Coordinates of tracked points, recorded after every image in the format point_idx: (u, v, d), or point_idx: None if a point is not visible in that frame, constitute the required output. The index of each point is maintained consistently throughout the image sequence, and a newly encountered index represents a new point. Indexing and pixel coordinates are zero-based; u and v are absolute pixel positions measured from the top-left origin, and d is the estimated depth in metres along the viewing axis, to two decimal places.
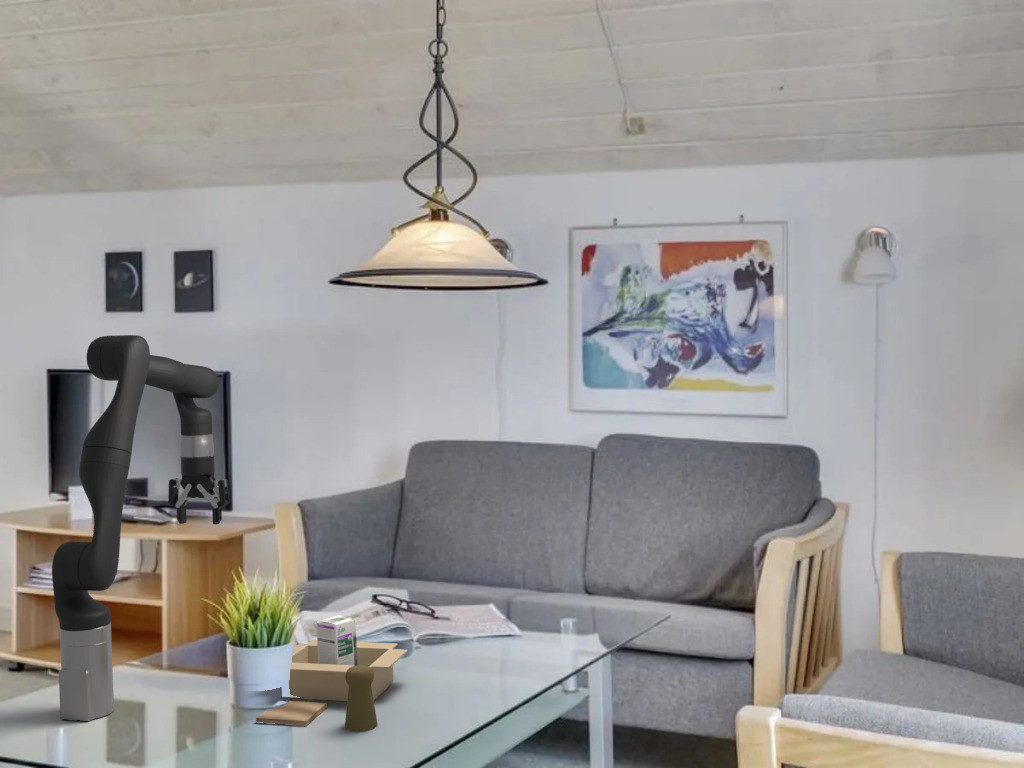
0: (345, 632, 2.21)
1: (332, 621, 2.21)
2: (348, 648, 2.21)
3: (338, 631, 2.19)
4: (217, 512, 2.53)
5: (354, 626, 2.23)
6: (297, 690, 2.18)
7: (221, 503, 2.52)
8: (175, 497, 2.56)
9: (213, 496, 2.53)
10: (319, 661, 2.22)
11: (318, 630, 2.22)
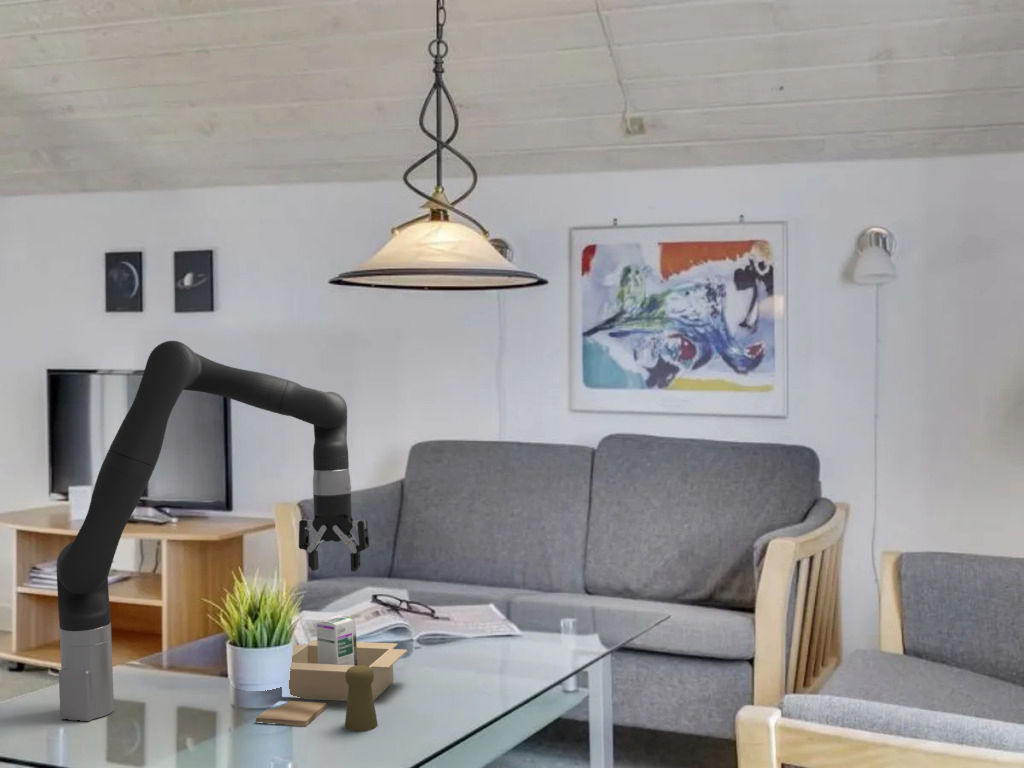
0: (345, 632, 2.21)
1: (332, 621, 2.21)
2: (348, 648, 2.21)
3: (338, 631, 2.19)
4: (356, 557, 2.21)
5: (354, 626, 2.23)
6: (297, 690, 2.18)
7: (361, 547, 2.20)
8: (305, 540, 2.24)
9: (351, 539, 2.21)
10: (319, 661, 2.22)
11: (318, 630, 2.22)
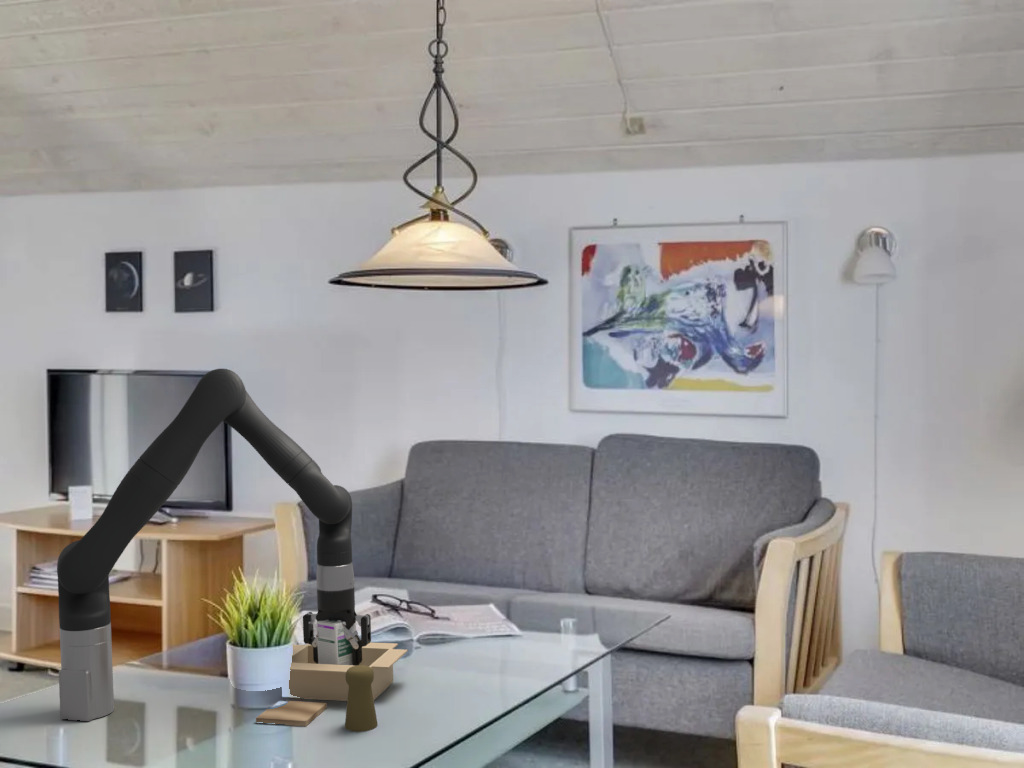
0: None
1: (332, 621, 2.21)
2: (348, 648, 2.21)
3: (338, 631, 2.19)
4: (358, 653, 2.21)
5: (354, 626, 2.23)
6: (297, 690, 2.18)
7: (363, 643, 2.20)
8: (310, 634, 2.25)
9: (353, 634, 2.21)
10: (319, 661, 2.22)
11: (318, 630, 2.22)
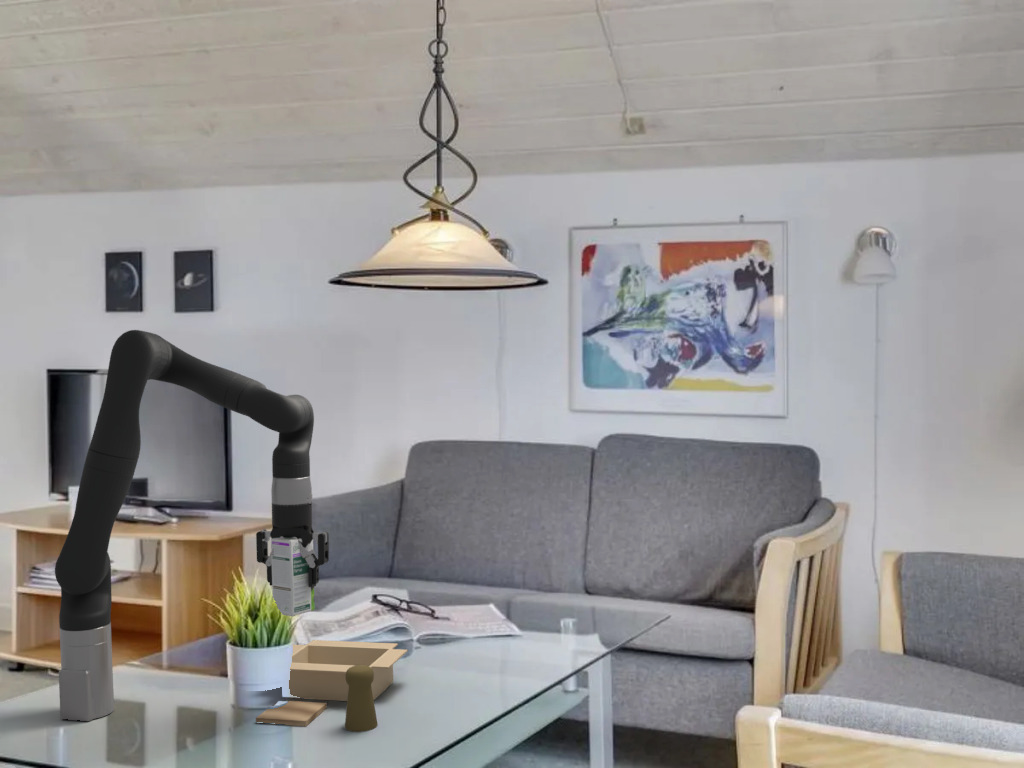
0: None
1: (288, 538, 2.07)
2: (304, 567, 2.08)
3: (293, 548, 2.06)
4: (314, 572, 2.08)
5: (311, 544, 2.09)
6: (297, 690, 2.18)
7: (320, 562, 2.07)
8: (264, 553, 2.11)
9: (310, 553, 2.08)
10: (273, 581, 2.08)
11: (273, 547, 2.08)
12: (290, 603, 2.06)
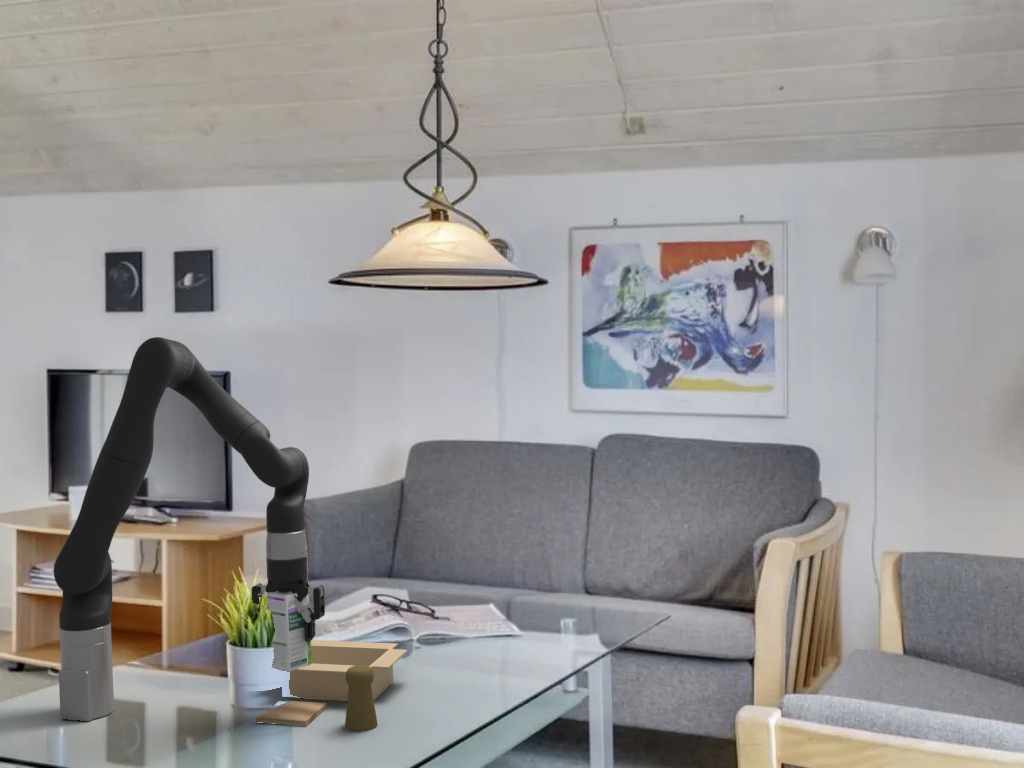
0: None
1: (283, 592, 2.05)
2: (300, 622, 2.06)
3: (289, 603, 2.04)
4: (310, 627, 2.06)
5: (307, 598, 2.08)
6: (297, 690, 2.18)
7: (315, 616, 2.05)
8: None
9: (306, 607, 2.06)
10: None
11: (268, 602, 2.06)
12: (286, 659, 2.04)
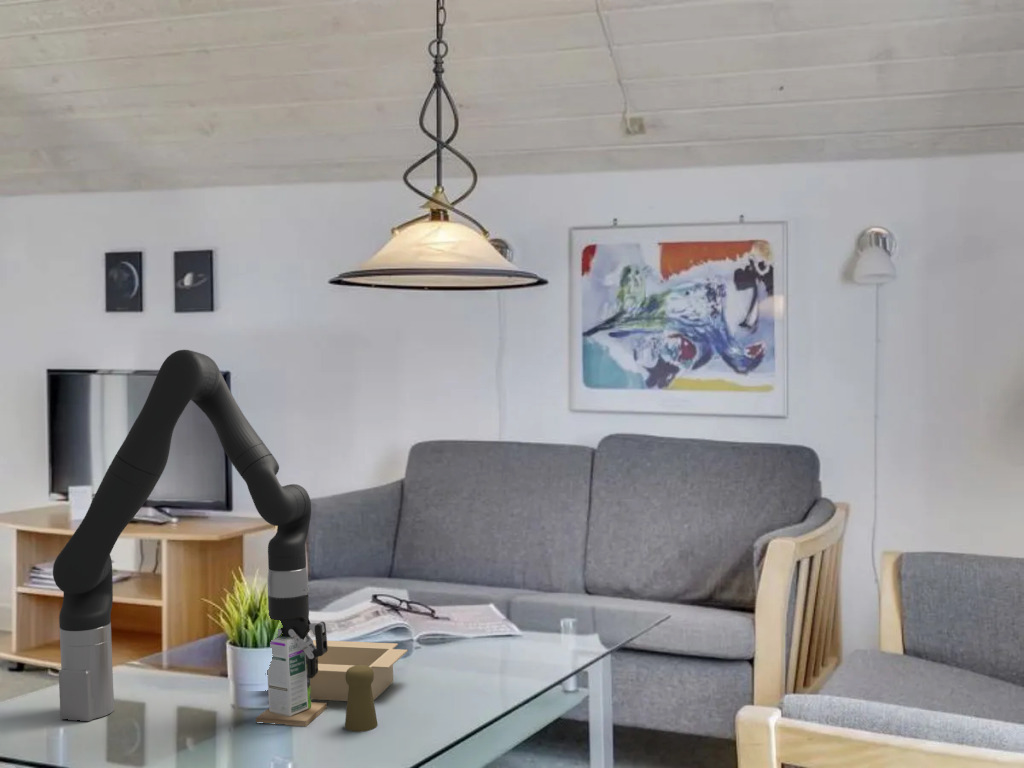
0: (297, 649, 2.06)
1: (283, 637, 2.06)
2: (300, 666, 2.07)
3: (289, 648, 2.04)
4: (313, 663, 2.06)
5: None
6: None
7: (318, 653, 2.05)
8: None
9: (308, 643, 2.06)
10: (269, 680, 2.07)
11: None
12: (287, 704, 2.05)
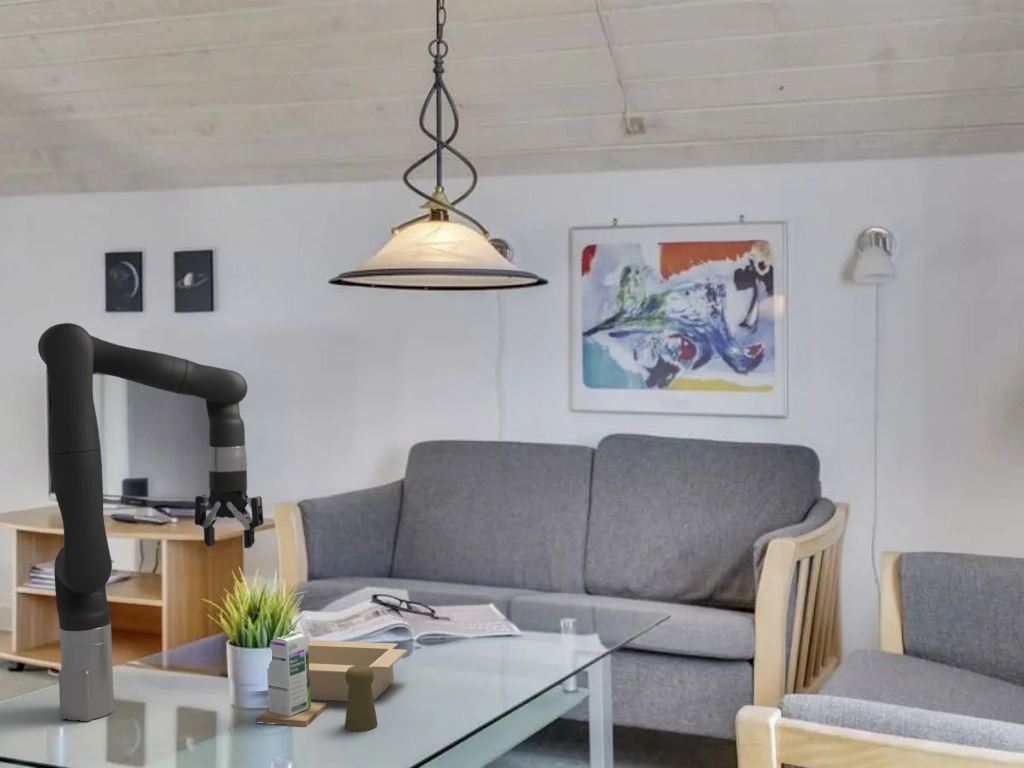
0: (297, 649, 2.06)
1: (283, 637, 2.06)
2: (300, 666, 2.07)
3: (289, 648, 2.05)
4: (249, 534, 2.23)
5: (306, 642, 2.08)
6: None
7: (254, 524, 2.22)
8: (202, 516, 2.27)
9: (245, 516, 2.23)
10: (269, 680, 2.07)
11: None
12: (287, 704, 2.05)
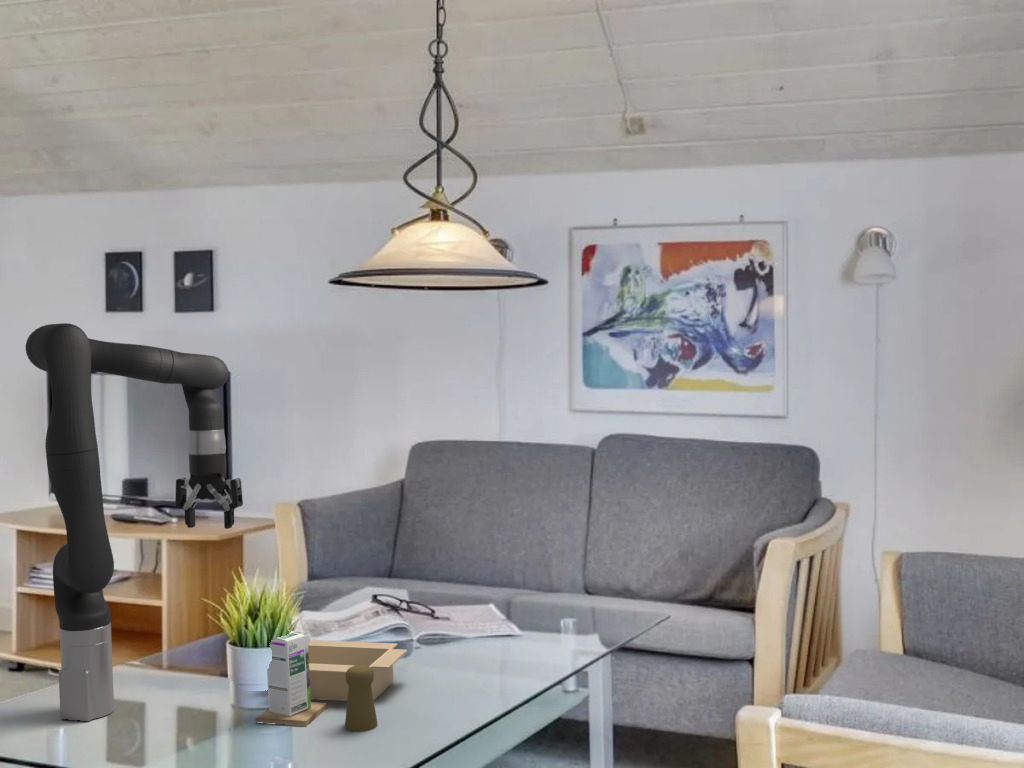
0: (297, 649, 2.06)
1: (283, 637, 2.06)
2: (300, 666, 2.07)
3: (289, 648, 2.05)
4: (229, 515, 2.29)
5: (306, 642, 2.08)
6: None
7: (234, 505, 2.28)
8: (183, 498, 2.33)
9: (225, 497, 2.30)
10: (269, 680, 2.07)
11: None
12: (287, 704, 2.05)
